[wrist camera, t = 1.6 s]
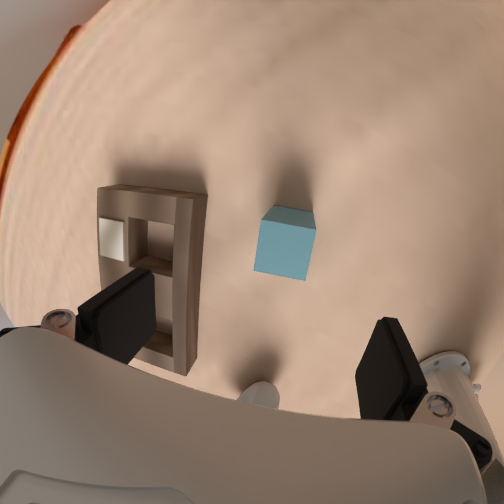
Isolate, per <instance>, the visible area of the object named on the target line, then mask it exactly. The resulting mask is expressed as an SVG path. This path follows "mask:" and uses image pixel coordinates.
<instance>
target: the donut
mask: <svg viewBox="0 0 504 504" xmlns="http://www.w3.org/2000/svg"><path fill="white" fill-rule="evenodd" d="M237 400H238V401H242V402H246V403H251V404H255V405H260V406H265V407H270V408H275V409H278V407H279V401H280V396H279V392H278V390H277V388H276V386H274V385H273V384H271V383H269V382H266V381H261V382H257V383H254V384H253V385H251V386H250V387H248V388H247V389H246V390H245V391H244V392H243V393H242V394H241V395H240V396H239V398H238V399H237Z"/></svg>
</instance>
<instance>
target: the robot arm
mask: <svg viewBox="0 0 504 504" xmlns="http://www.w3.org/2000/svg"><path fill="white" fill-rule="evenodd" d="M78 313H79V314H78V315H76V316H75V314H74V313H73V312H72V311H70V310H67V309H56V310H53V311H50V312H49V313H47V314H46V315H45V316H44V317H43V319H42V322H41V325H38V326H27V327H15V328H4V329H2V330H1V331H0V504H504V458H503V456H502V453H501V451H500V448H499V446H498V443H497V441H496V439H495V436H494V434H493V431H492V429H491V427H490V425H489V423H488V420H487V418H486V416H485V414H484V412H483V410H482V408H481V406H480V404H479V402H478V395H477V394H474V392H479V391H480V389H481V385H480V384H473V385H472V383H471V381H470V379H469V378H468V377H469V374H470V364H469V361H468V360H467V358H466V357H465V355H463V354H462V353H460V352H457V351H447V352H442V353H439V354H436V355H434V356H431V357H429V358H427V359H426V360H424V361H422V362H421V363H418V361H417V358H416V356H415V354H414V352H413V350H412V348H411V346H410V343H409V341H408V339H407V337H406V335H405V333H404V331H403V329H402V327H401V325H400V323H399V321H398V319H397V318H390V317H383V318H382V320H378V321H377V323H376V326H375V328H374V331H373V333H372V336H371V338H370V340H369V343H368V345H367V347H366V350H365V352H364V354H363V357H362V359H361V361H360V363H359V365H358V367H357V370H356V374H355V379H356V386H357V393H358V400H359V408H360V416H361V419H354V418H341V417H330V416H321V415H313V414H306V413H299V412H293V411H287V410H281V409H275V408H270V407H265V406H260V405H255V404H251V403H246V402H242V401H238V400H234V399H230V398H226V397H222V396H218V395H214V394H211V393H207V392H204V391H200V390H197V389H194V388H190V387H187V386H184V385H181V384H178V383H175V382H172V381H169V380H166V379H163V378H160V377H158V376H155V375H152V374H149V373H147V372H144V371H142V370H139V369H137V368H134V367H132V366H129V365H127V364H128V363H129V362H130V361H131V360H132V359H133V358H134V356H135V355H136V354H137V353H138V352H139V351H140V349H141V348H142V347H143V346H144V345H145V344H146V343H147V341H148V340H149V339H150V338H151V337H152V336H153V335H154V333H155V331H156V308H155V277H154V274H152V272H151V270H149V269H145V268H141V267H137V268H135V269H133V270H132V271H130V272H129V273H127V274H126V275H124V276H123V277H121V278H120V279H118V280H117V281H115V282H114V283H112V284H111V285H109V286H108V287H106V288H105V289H103V290H102V291H101V292H99V293H98V294H96V295H95V296H93V297H92V298H90V299H89V300H88V301H86V302H85V303H83V304H82V305H80V306H79V307H78Z"/></svg>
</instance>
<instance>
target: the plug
mask: <svg viewBox="0 0 504 504" xmlns="http://www.w3.org/2000/svg"><path fill="white" fill-rule="evenodd" d="M315 233H316V226H315V220H314V214H313V212H308V211H303V210H298V209H292V208H287V207H281V206H276V205H274V206H273V207H272V208H271V209H270V210H269V211H268V212H267V214H266V215H265V216H264V217H263V218H262V219H261V224H260V231H259V238H258V244H257V251H256V258H255V264H254V271H258V272H263V273H268V274H273V275H278V276H283V277H288V278H293V279H298V280H303V281H305V279H306V275H307V270H308V266H309V261H310V257H311V252H312V247H313V243H314V238H315Z"/></svg>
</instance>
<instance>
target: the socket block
mask: <svg viewBox="0 0 504 504" xmlns="http://www.w3.org/2000/svg"><path fill="white" fill-rule="evenodd" d="M207 198H208V195H205V194H198V193H190V192H182V191H174V190H166V189H157V188H148V187H139V186H129V185H113V186H107V187H101V188H97V236H98V256H99V270H100V281H101V290H103V289H105V288H106V287H108V286H109V285H111V284H112V283H114V282H115V281H117V280H118V279H120V278H121V277H123V276H124V275H126V274H127V273H129V272H130V271H132V270H133V269H135V268H137V267H141V268H145V269H149V270H151V272H152V274H154V277H155V308H156V316H157V317H160V318H164V319H167V320H170V321H172V333H173V336H171V335H167V334H164V333H161V332H158V331H155V333H154V335H153V336H152V337H151V338H150V339H149V340H148V341H147V343H146V344H145V345H144V346H143V347H142V348H141V349H140V351H139V352H138V353H137V354H136V355H135V356H134V358H136V359H139V360H141V361H144V362H147V363H149V364H152V365H155V366H157V367H160V368H163V369H166V370H168V371H171V372H174V373H177V374H180V375H183V376H187V374H188V372H189V371H190V369H191V367H192V366H193V364H194V362H195V360H196V359H197V337H198V313H199V295H200V279H201V264H202V251H203V239H204V228H205V217H206V207H207ZM148 220H149V221H155V222H161V223H167V224H172V225H174V244H173V261H169V260H164V259H160V258H156V257H151V256H147V222H148Z"/></svg>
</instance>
